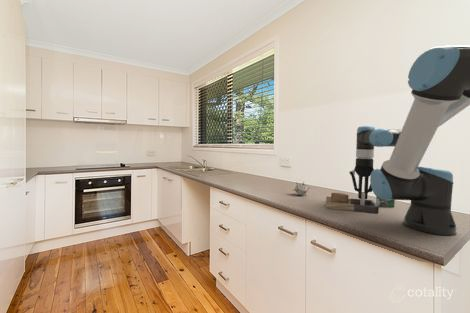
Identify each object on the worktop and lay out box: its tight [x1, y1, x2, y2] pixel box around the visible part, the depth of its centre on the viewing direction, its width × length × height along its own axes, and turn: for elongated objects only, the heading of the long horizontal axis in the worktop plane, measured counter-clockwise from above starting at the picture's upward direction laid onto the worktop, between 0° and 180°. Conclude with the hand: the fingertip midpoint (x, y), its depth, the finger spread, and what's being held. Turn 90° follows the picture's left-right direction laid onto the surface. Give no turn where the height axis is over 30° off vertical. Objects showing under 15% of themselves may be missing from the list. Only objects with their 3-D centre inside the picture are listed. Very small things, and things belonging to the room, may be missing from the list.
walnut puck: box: [330, 192, 350, 204], centre depth 114 cm, size 8×8×6 cm
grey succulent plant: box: [292, 182, 310, 197], centre depth 136 cm, size 9×8×10 cm
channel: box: [325, 195, 380, 214], centre depth 112 cm, size 13×22×3 cm, turn 69°
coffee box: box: [375, 195, 396, 208], centre depth 113 cm, size 8×3×13 cm, turn 90°
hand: (362, 205), depth 110 cm, fingers closed
